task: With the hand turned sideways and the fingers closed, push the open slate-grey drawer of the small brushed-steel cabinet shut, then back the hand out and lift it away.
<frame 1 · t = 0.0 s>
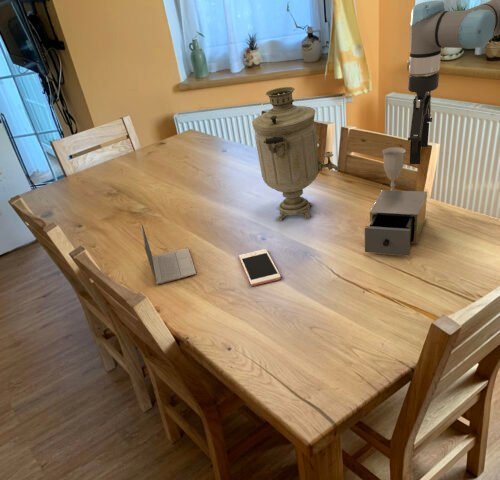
hand: (418, 154, 142), 22 cm above the table, tool pointing down, fingers open, 13 cm apart
cabinet: (397, 230, 154), on the table
laptop: (173, 267, 157), on the table
cell phone: (259, 268, 148), on the table
chalice: (392, 204, 169), on the table
samovar: (301, 214, 173), on the table
drawer: (391, 230, 144), point 5 cm above the table, slide at 7.0 cm
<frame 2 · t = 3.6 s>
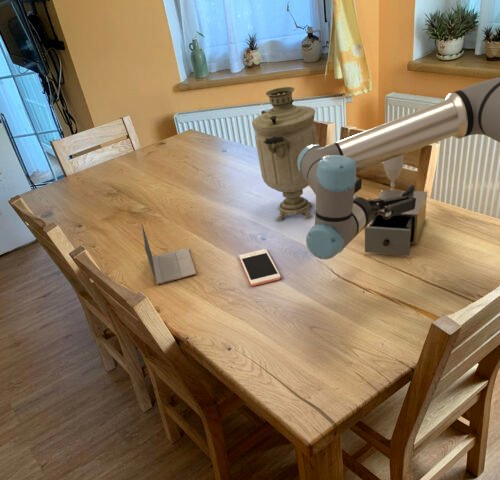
hand: (385, 186, 125), 23 cm above the table, tool horizontal, fingers open, 13 cm apart
nothing on the table moved.
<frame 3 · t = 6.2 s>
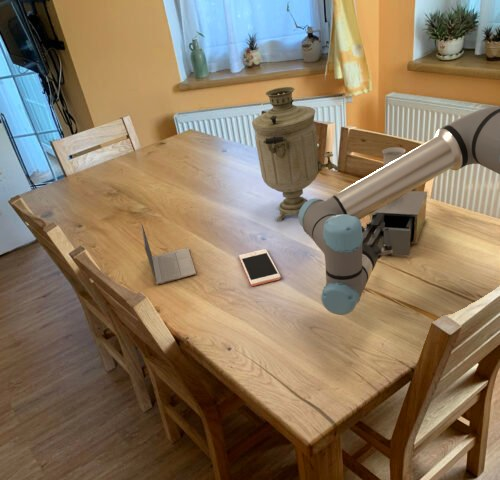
hand: (380, 218, 128), 16 cm above the table, tool horizontal, fingers closed
nothing on the table moved.
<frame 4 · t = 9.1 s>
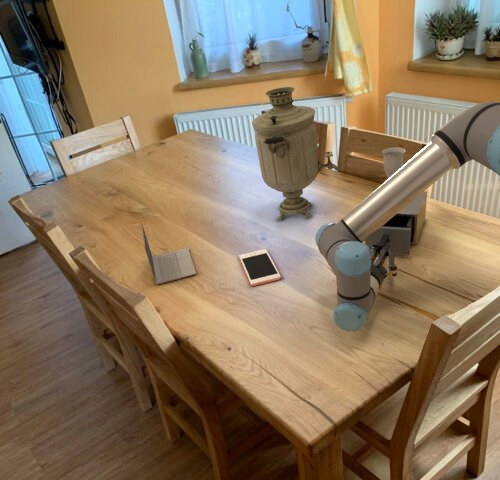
hand: (385, 238, 138), 6 cm above the table, tool horizontal, fingers closed
drawer: (392, 230, 145), point 5 cm above the table, slide at 6.5 cm, touching gripper
everything else where it was.
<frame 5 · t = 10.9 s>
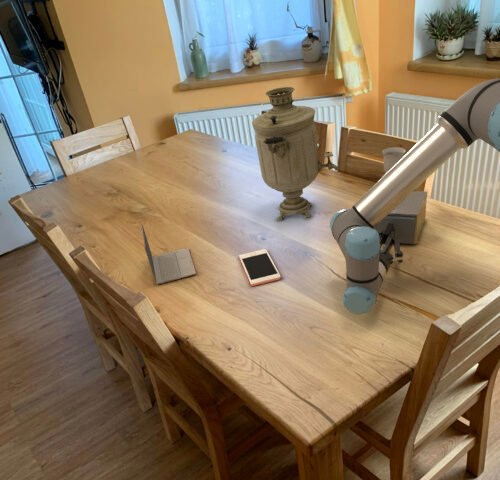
hand: (390, 227, 143), 6 cm above the table, tool horizontal, fingers closed
drawer: (396, 219, 149), point 5 cm above the table, slide at 0.0 cm, touching cabinet, gripper
everything else where it was.
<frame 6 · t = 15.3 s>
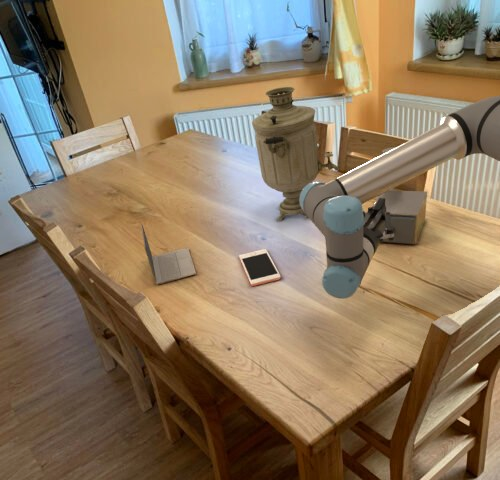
hand: (382, 203, 127), 19 cm above the table, tool horizontal, fingers closed
drawer: (396, 219, 149), point 5 cm above the table, slide at 0.0 cm, touching cabinet
everything else where it was.
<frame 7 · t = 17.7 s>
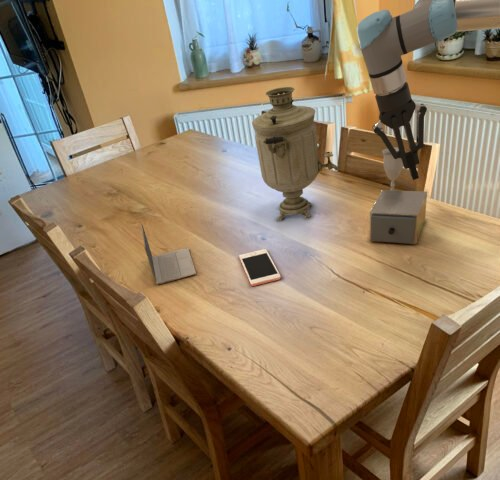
hand: (414, 176, 128), 23 cm above the table, tool tilted 15°, fingers closed
nothing on the table moved.
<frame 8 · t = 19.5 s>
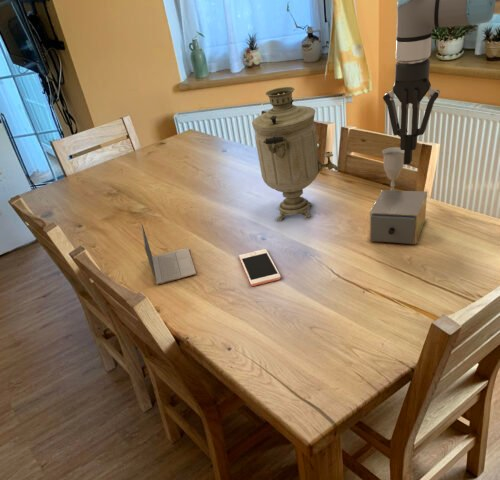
hand: (407, 162, 127), 26 cm above the table, tool pointing down, fingers closed
nothing on the table moved.
at the end: drawer slide at 0.0 cm; chalice moved 0.2 cm from its start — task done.
